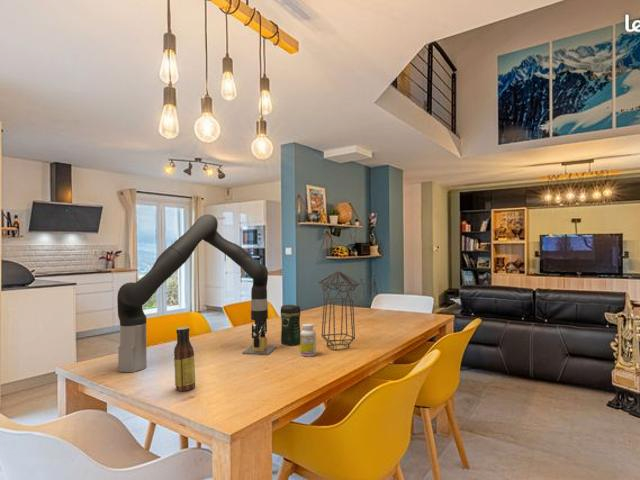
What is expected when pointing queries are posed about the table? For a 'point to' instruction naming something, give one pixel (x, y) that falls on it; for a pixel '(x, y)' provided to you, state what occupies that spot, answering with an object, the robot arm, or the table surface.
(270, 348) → the coaster
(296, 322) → the coffee jar
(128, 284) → the robot arm
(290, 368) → the table surface
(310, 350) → the supplement bottle
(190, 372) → the sauce bottle
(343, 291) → the geometric lantern
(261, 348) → the cube
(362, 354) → the table surface
